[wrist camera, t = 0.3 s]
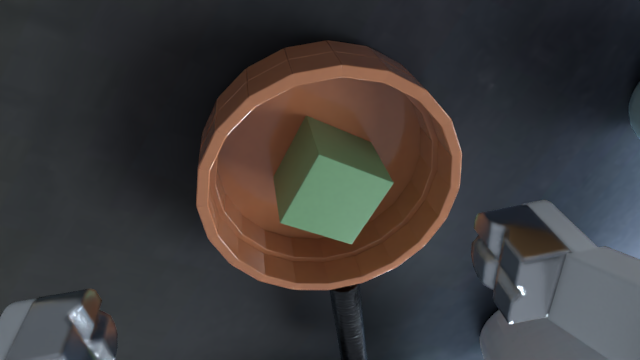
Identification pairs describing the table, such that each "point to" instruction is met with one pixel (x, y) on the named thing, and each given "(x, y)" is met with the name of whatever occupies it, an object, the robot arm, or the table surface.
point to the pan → (345, 114)
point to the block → (329, 182)
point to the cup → (635, 110)
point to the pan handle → (349, 322)
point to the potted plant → (531, 341)
